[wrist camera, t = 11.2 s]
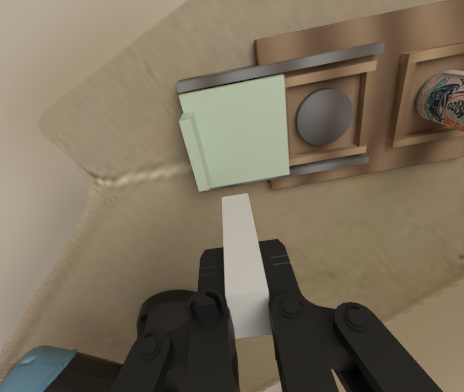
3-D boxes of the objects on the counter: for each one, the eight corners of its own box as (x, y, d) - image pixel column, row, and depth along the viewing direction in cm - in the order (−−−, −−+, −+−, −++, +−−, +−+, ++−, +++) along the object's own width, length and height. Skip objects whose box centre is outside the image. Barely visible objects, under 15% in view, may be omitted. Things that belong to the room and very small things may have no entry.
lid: (204, 185, 28) (202, 204, 25) (179, 94, 23) (173, 102, 20) (287, 171, 28) (296, 188, 24) (282, 74, 22) (292, 79, 19)
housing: (209, 194, 32) (208, 205, 30) (173, 57, 24) (168, 58, 22) (461, 150, 31) (480, 159, 28) (517, -14, 22) (552, -21, 20)
